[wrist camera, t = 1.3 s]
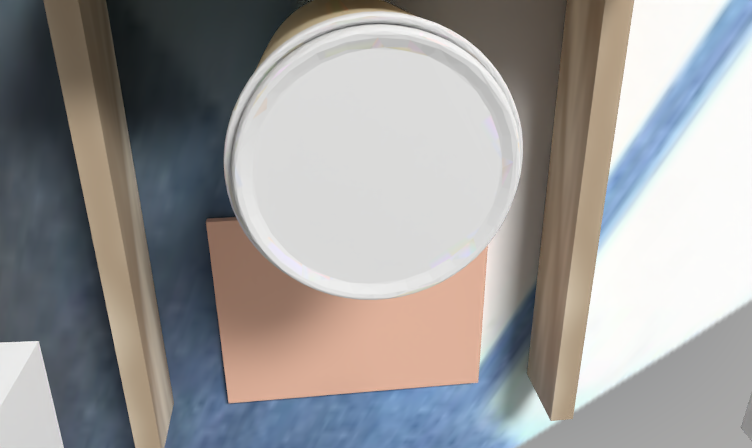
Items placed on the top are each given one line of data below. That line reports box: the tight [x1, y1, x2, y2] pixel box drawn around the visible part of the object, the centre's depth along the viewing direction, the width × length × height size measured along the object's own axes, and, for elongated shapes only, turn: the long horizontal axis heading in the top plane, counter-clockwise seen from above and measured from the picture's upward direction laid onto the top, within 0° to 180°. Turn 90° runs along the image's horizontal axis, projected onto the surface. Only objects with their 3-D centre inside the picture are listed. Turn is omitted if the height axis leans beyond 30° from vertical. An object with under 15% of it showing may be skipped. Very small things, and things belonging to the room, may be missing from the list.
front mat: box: [206, 217, 488, 403], centre depth 37 cm, size 14×11×1 cm
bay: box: [43, 0, 634, 448], centre depth 29 cm, size 22×24×10 cm
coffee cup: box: [224, 0, 523, 300], centre depth 26 cm, size 9×9×12 cm
